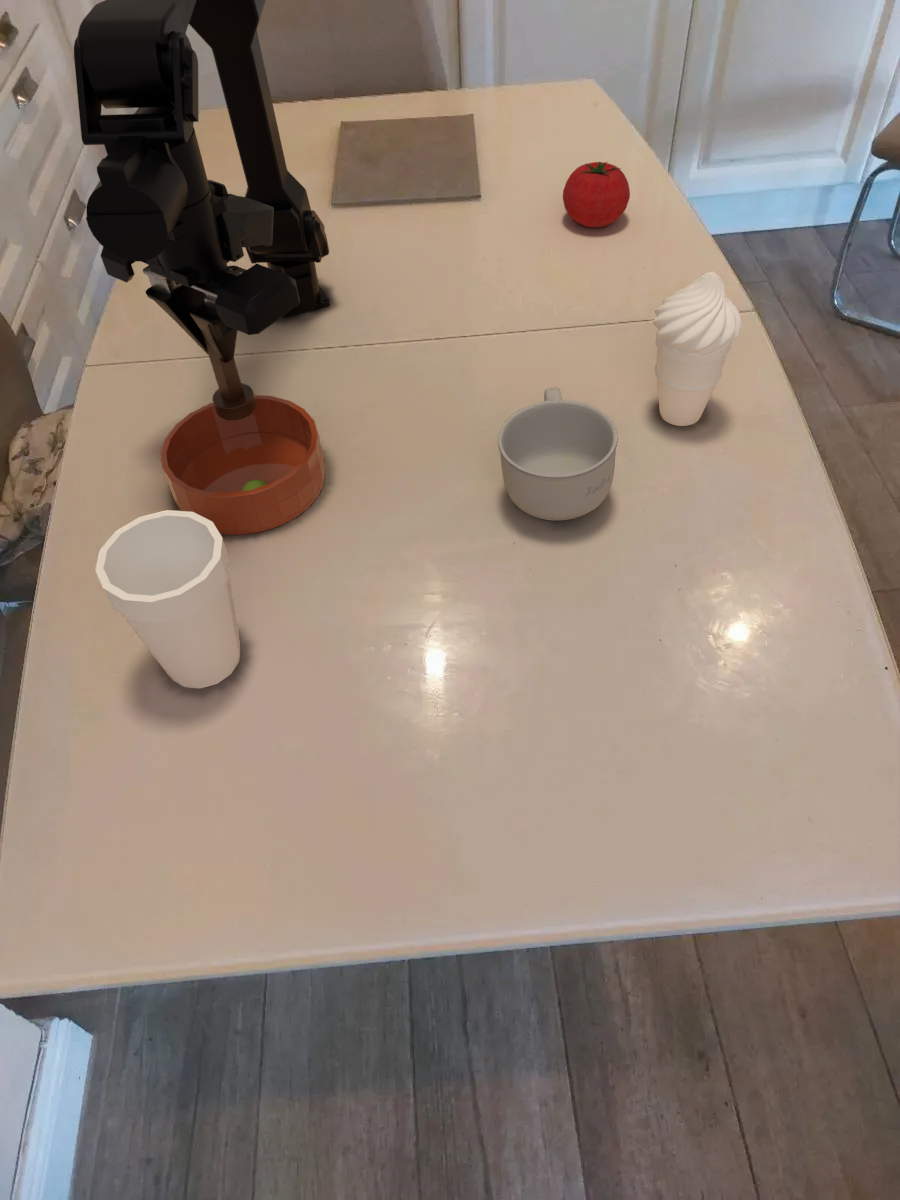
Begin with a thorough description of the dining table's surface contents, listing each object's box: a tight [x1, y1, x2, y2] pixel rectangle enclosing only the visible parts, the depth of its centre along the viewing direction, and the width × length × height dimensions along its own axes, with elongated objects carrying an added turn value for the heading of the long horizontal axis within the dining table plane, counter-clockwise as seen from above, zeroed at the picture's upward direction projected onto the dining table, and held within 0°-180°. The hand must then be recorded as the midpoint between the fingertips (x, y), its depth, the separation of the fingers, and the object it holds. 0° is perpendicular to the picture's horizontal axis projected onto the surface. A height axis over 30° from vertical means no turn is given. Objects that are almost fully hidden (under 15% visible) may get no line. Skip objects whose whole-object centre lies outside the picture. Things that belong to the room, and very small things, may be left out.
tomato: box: [562, 161, 631, 228], centre depth 120 cm, size 9×9×8 cm
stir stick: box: [201, 331, 256, 420], centre depth 86 cm, size 4×4×10 cm
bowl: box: [159, 394, 326, 536], centre depth 90 cm, size 15×15×5 cm
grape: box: [242, 480, 267, 491], centre depth 88 cm, size 3×3×3 cm
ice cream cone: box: [652, 271, 742, 427], centre depth 90 cm, size 8×8×16 cm
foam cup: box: [94, 509, 241, 689], centre depth 73 cm, size 10×9×13 cm
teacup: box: [497, 386, 619, 522], centre depth 87 cm, size 14×11×8 cm
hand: (221, 357), depth 85 cm, fingers closed on stir stick, 2 cm apart
